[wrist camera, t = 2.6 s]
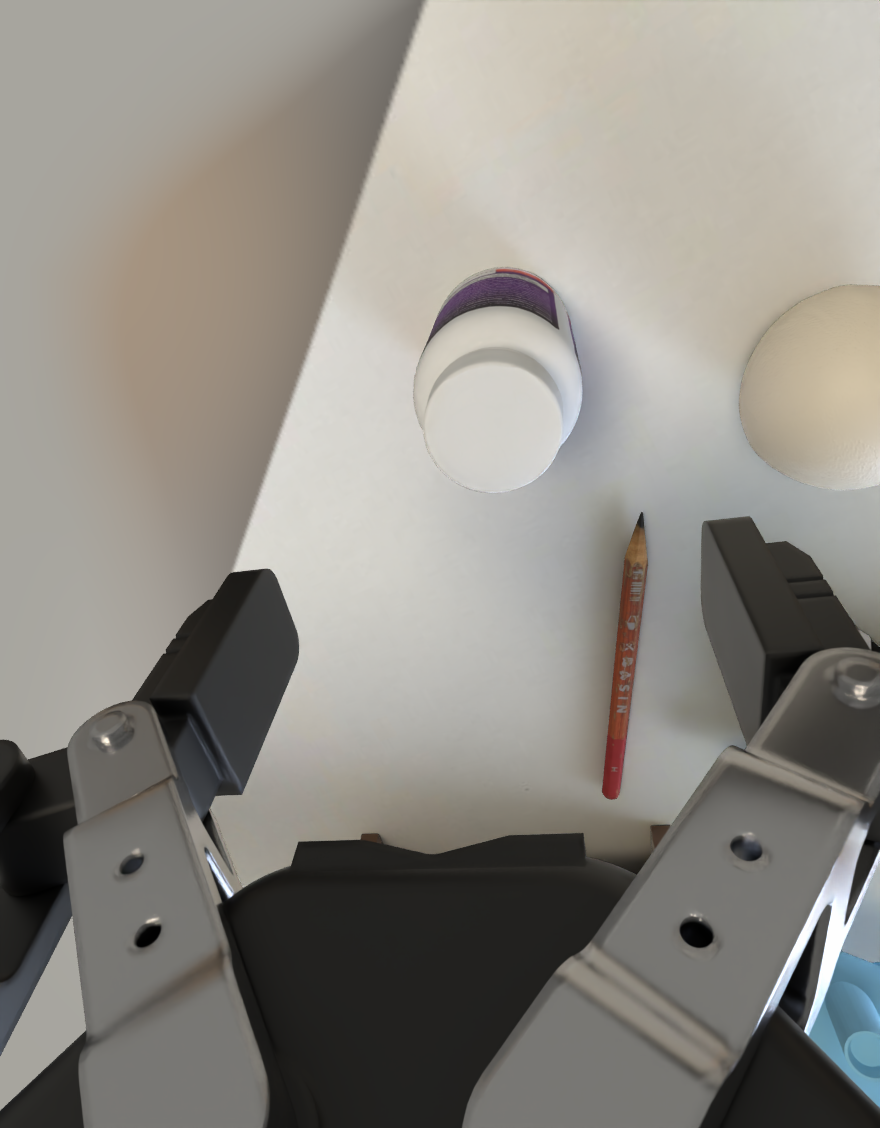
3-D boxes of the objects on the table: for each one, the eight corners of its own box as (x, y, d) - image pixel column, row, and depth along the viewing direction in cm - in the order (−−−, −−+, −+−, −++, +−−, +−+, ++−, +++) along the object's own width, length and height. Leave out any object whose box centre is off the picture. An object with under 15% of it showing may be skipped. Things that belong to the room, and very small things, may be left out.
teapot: (935, 1097, 46) (952, 1333, 38) (679, 989, 53) (644, 1169, 45) (1058, 946, 35) (1121, 1236, 26) (712, 834, 42) (673, 1036, 33)
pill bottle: (407, 326, 28) (358, 415, 20) (516, 233, 25) (511, 288, 17) (490, 427, 30) (477, 545, 22) (598, 349, 27) (628, 448, 19)
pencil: (618, 788, 41) (620, 802, 40) (600, 787, 41) (602, 801, 40) (652, 506, 31) (656, 517, 30) (627, 506, 31) (630, 517, 30)
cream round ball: (851, 467, 29) (929, 551, 23) (690, 413, 28) (731, 486, 23) (965, 308, 25) (1089, 363, 20) (782, 242, 25) (857, 280, 19)
